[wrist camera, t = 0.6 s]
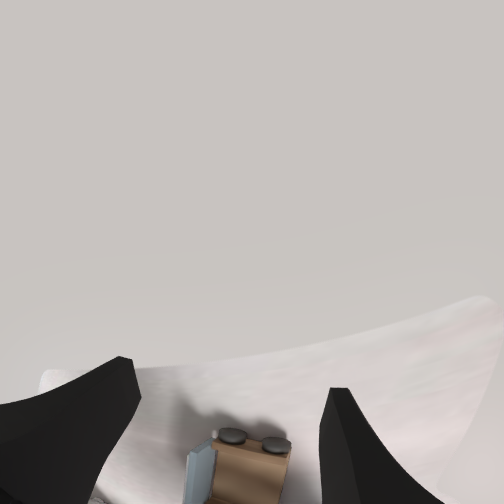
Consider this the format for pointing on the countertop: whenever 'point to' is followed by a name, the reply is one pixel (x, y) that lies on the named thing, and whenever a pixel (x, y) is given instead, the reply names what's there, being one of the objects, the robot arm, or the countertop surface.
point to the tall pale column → (96, 501)
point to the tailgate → (199, 473)
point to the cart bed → (248, 468)
